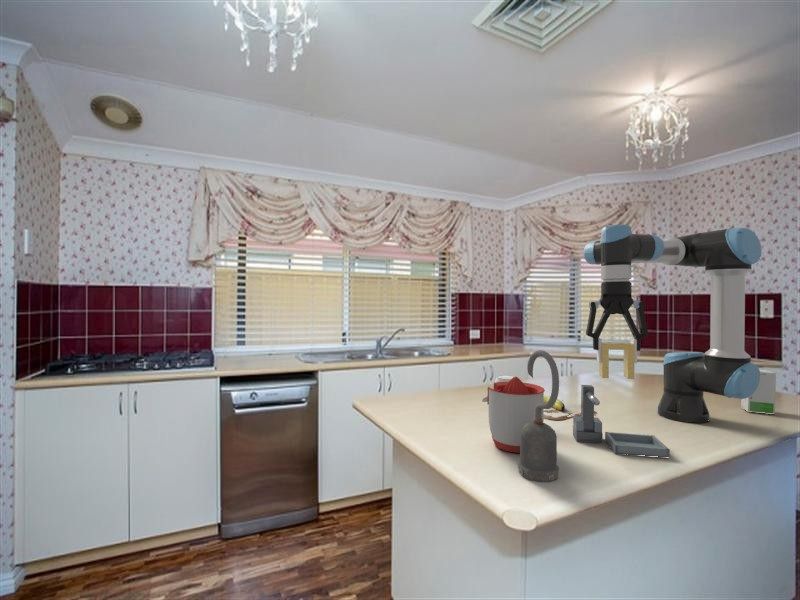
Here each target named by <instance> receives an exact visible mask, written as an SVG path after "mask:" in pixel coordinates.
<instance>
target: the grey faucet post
mask: <svg viewBox="0 0 800 600" xmlns="http://www.w3.org/2000/svg"><path fill="white" fill-rule="evenodd" d="M580 389H581V390H580V394H581V395H580V413H581V416H574V415H572V416H573V417H572V421H573V423H572V424H573V425H572V436H573V438H574V440H575V441H576V443H585V444H586V443H587V444H588V443H589V444H601V445H603V437H604V436H603V422H602V421H601V420H600V418H599V417H595V414H594V411H595V406H599V405H600V404H601V403H600V400H599V399H598V398H597V397H596V396H595V386H593V385H591V384H581V385H580Z"/></svg>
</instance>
